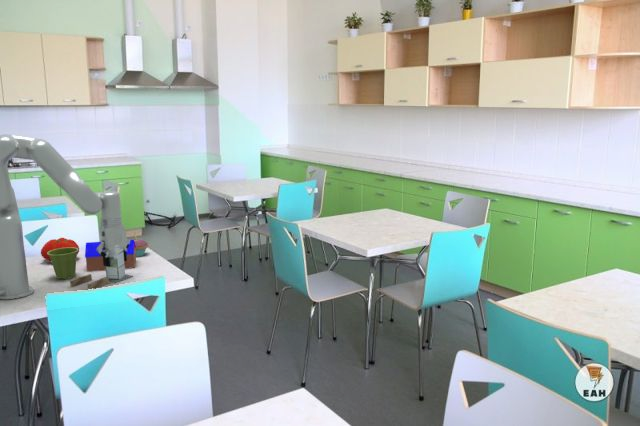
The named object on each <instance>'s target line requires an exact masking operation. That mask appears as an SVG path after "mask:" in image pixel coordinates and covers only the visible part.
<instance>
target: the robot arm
mask: <svg viewBox="0 0 640 426" xmlns="http://www.w3.org/2000/svg"><path fill="white" fill-rule="evenodd" d="M13 158H14V159H20V160H32V161H33V162H34V163H35V164H36V165H37V166H38V168H40V169H41V170H42V171H43V172H44V173H45V174H46V175H47V176H48V177H49V178H50V179H51V180H52V181H53V182H54V183H55V184H56V185H57V186H58V187H59V188H60V189H61V190H63V191H64V192H65V193H66V194H67V195H68V196H69V197H70V198H71V199H72V200H73V201H74V203H76V204H77V205H78V206H79V208H80V209H82V210H83V211H84V213H86V214H89V215H95V214H98V213H99V212H100V214H101V215H100V216H101V221H100V225H101V227H100V242H101V244H100V245H99V246H98V247H97V249H96V250H97V252H98V253H99V254H100V255H101V257H103V265H104V266H107V267H110V258H109V257H108V256H109V253H110V251H114V250H115V248H114V246H116V245H118V244H119V247H120V249H122V248H123V253H124V261H127V255H126V251H127V249H128V247H129V243H130V240H131V239H129V238H128V236H127V231H126V227H125V225H124V224H125V223H123V220H122V219H123V218H122V209H121V208H122V207H121V205H122V204H121V196H120V195H121V194H120V193H119V192H118V191H114V190H113V191H111V190H110V191H109V190H108V191H103V192H99V191H98V192H97V191H96V192H94V191H93V190H92V188H91V187H90V186H89V185H88V184H87V182H85V181H84V180H83V179H82V178H81V176H80V175H79V173H78V172H77V171H76V170H75V169H74V167H72V166H71V164H70V163H69V162H68V161H67V160H66V159H65V158H64V157H63V156H62V155H61V154H60V152H58V151H57V150H56V148H55V147H54V146H53V145H52V144H51V143H50V142H48V141H47V140H45V139H41V138H33V137H26V136H21V135H20V136H18V135H12V134H1V135H0V300H16V299H21V298H24V297H28V296H30V295H32V294H33V293H34V291H35V289H34V287H33V286H30V285H29V275H28V268H27V267H28V266H27V259H26V253H25V252H26V250H25V243H24V242H25V241H24V233H23V224H22V220H21V216H20V212H19V207H18V202H17V198H16V193H15V189H14V188H13V186H12V183H11V179H10V178H11V177H10V173H9V169H8V168H9V167H8V163H9V161H10V160H11V159H13ZM104 246H105V247H106V249H105V247H104ZM102 250H103V251H102ZM106 251H107V252H106ZM105 253H106V254H105ZM20 297H21V298H20ZM15 298H16V299H15Z"/></svg>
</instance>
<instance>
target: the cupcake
mask: <svg viewBox="0 0 640 426" xmlns="http://www.w3.org/2000/svg"><path fill="white" fill-rule="evenodd" d="M133 236H134V242H135V246H136V247H135V253H136V257H143V256H145V254H146V250H147V248H148V247H149V243H148V242H147V241H145V240H141V239H140V240H138V238H137V235H136V231H135V230H133Z"/></svg>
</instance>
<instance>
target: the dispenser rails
mask: <svg viewBox="0 0 640 426" xmlns="http://www.w3.org/2000/svg"><path fill="white" fill-rule="evenodd" d="M92 276H93V275H92V274H91V273H89V274H86V275H83V276H80V277H77V278H74V279H73V278H72V279H71V280H69V284H70V287H71V288H73V287H76V286H79V285H82V284H85V283H87V284H86V285H87V290H88V289H92V288H95V289H97V288H101V287H103V286H106V285H108V284H110V282H109V278H108V277H106V276H105V277H106V278H104V277H102V278H103V279H101V278H100V279H101V280H100V279H98V280H96V281H93V282H91V281H92V280H93V278H92ZM88 282H90V283H88Z"/></svg>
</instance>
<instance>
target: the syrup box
mask: <svg viewBox="0 0 640 426" xmlns="http://www.w3.org/2000/svg"><path fill="white" fill-rule="evenodd" d="M104 247H105V246H104ZM114 248H115V250H114V251H110V253H109V256H108V257H109V258H110V267H107V266H106V270H105V274H106V275H105V277H108V278H109V279H121V278H122V277H124V276H125V274H126V269H125V266H124V253H123V248H122V249H120V247H119V244H118V245H116V246H114ZM105 249H106V247H105ZM106 252H107V251H106ZM105 254H106V253H105Z"/></svg>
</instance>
